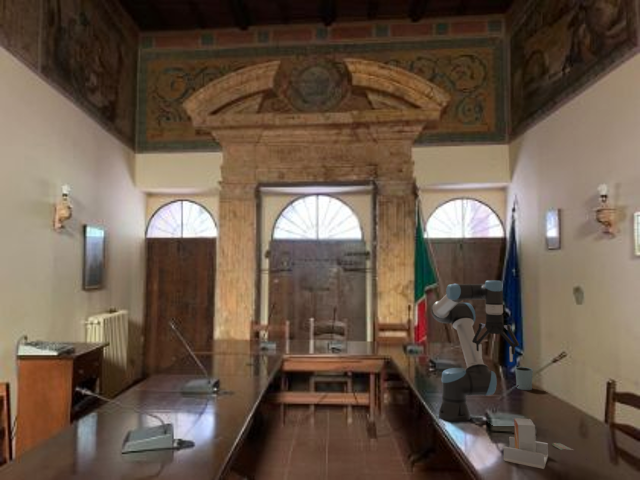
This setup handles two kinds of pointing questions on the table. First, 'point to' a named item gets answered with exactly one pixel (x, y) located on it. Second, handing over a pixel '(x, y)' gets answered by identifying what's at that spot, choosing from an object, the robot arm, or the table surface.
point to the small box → (524, 434)
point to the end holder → (527, 454)
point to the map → (561, 446)
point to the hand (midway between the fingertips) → (495, 359)
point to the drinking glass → (524, 378)
